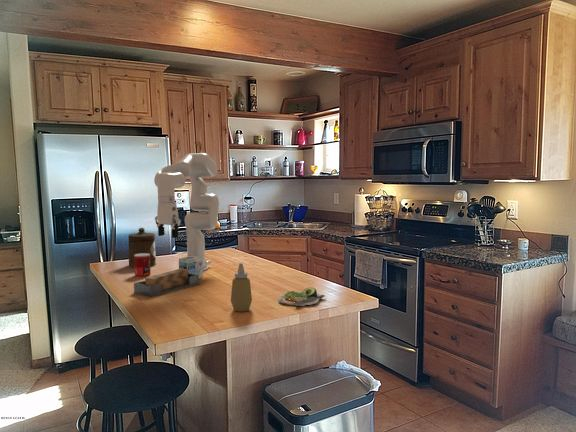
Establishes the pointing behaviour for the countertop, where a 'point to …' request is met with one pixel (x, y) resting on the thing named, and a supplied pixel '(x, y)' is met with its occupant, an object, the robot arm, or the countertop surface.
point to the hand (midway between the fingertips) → (168, 236)
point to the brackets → (156, 290)
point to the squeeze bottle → (241, 291)
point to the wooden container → (142, 246)
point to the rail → (168, 278)
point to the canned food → (142, 264)
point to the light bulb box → (192, 265)
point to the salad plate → (301, 297)
